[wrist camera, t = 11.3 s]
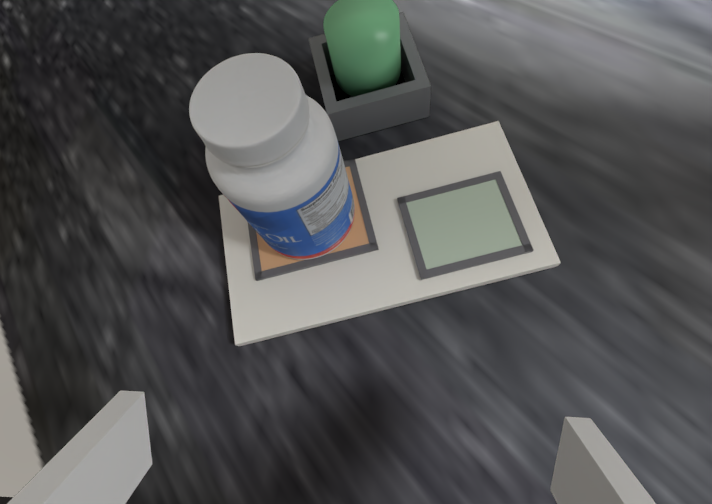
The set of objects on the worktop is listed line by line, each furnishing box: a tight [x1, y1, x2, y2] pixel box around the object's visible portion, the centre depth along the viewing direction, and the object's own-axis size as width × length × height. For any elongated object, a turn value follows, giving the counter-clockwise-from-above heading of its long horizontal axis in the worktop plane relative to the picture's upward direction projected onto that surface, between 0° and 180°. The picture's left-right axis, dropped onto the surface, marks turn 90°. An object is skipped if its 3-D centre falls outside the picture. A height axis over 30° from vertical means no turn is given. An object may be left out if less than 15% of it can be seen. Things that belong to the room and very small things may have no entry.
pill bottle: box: [189, 53, 355, 260], centre depth 19 cm, size 6×5×10 cm
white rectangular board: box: [219, 121, 561, 346], centre depth 23 cm, size 17×9×1 cm, turn 103°
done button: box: [323, 0, 401, 97], centre depth 23 cm, size 4×4×4 cm
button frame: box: [308, 12, 431, 141], centre depth 25 cm, size 6×6×3 cm
